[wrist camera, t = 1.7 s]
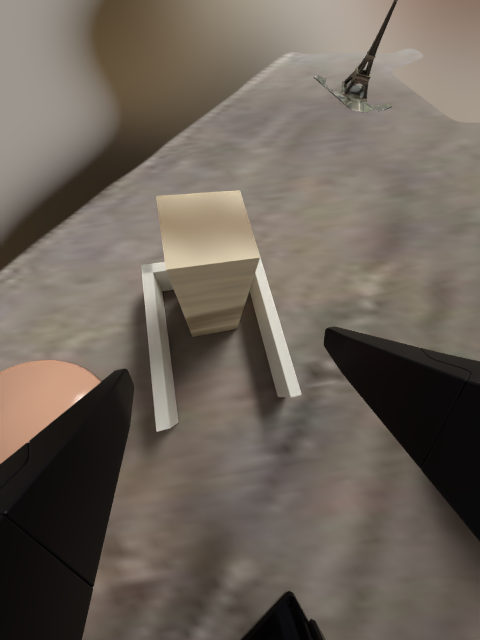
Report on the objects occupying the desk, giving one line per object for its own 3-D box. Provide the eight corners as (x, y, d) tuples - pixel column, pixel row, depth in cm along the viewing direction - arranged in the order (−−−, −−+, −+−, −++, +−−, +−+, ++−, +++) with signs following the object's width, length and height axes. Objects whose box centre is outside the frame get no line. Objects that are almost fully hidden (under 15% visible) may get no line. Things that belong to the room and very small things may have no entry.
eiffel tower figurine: (310, 80, 45) (347, -42, 32) (343, 71, 48) (388, -44, 35) (358, 121, 41) (420, 3, 29) (391, 110, 44) (460, -3, 32)
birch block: (237, 328, 24) (260, 257, 12) (192, 336, 23) (166, 269, 11) (228, 289, 25) (239, 190, 13) (185, 295, 24) (156, 196, 12)
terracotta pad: (-51, 602, 15) (-62, 610, 14) (-88, 417, 18) (-98, 418, 17) (142, 467, 18) (140, 469, 18) (83, 335, 22) (80, 333, 21)
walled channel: (286, 394, 22) (301, 394, 18) (167, 425, 20) (156, 431, 16) (252, 271, 26) (258, 250, 23) (152, 285, 24) (141, 264, 21)
